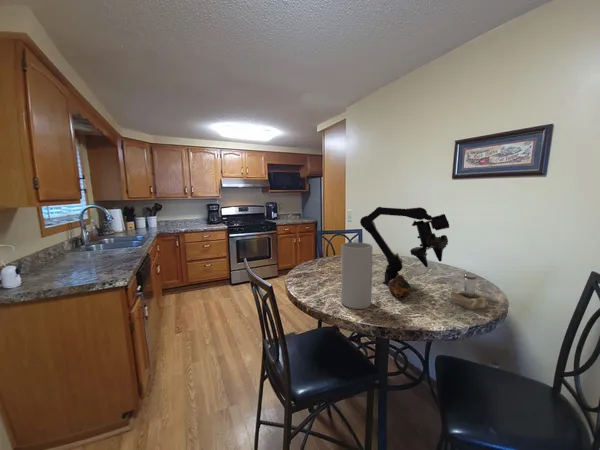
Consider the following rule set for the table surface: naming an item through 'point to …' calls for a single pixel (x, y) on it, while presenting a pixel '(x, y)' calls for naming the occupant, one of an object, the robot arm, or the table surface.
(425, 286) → the table surface
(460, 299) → the socket block
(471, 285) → the silver metal cylinder
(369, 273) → the cylinder vase
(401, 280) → the decorative turtle
